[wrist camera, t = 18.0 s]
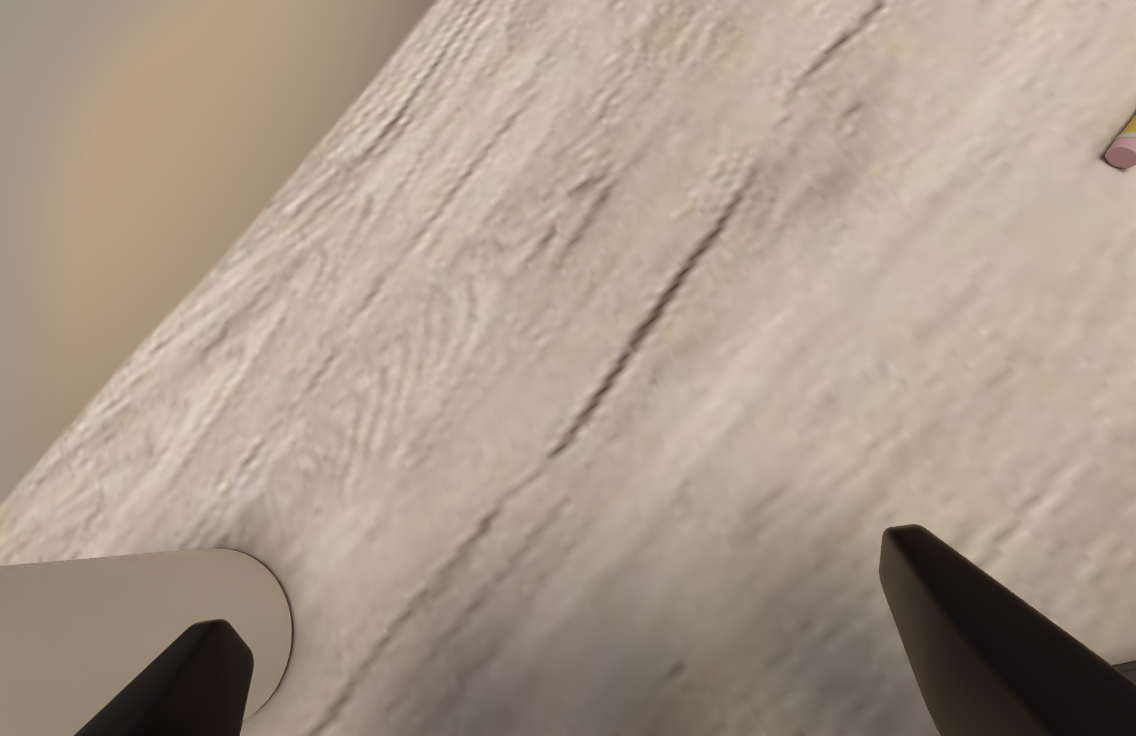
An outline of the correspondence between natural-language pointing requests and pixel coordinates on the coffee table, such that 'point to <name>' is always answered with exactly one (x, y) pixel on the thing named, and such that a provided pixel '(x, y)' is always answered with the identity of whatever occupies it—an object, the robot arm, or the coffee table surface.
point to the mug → (124, 629)
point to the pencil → (1124, 147)
